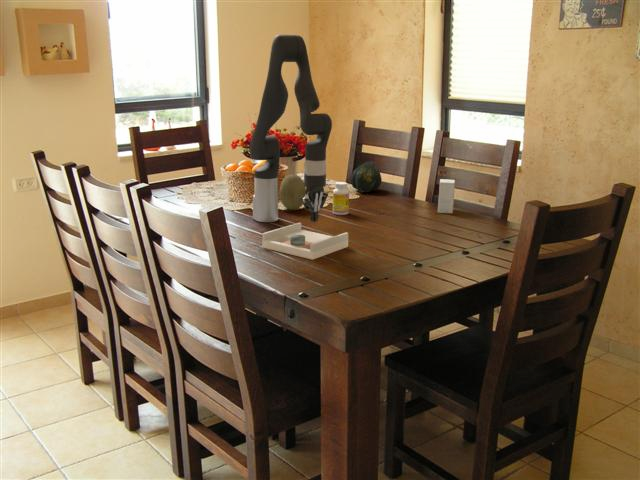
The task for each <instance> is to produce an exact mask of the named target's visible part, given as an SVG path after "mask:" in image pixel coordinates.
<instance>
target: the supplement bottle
mask: <svg viewBox="0 0 640 480" xmlns="http://www.w3.org/2000/svg"><path fill="white" fill-rule="evenodd" d="M347 186H348V183H347V182H344V181H336V182H335V188H334V189H333V191H332V214H333V215H337V216H345V215H348V214H349V213H350V212H349V208H350V205H349V204H350V190H349V189H348V188H347Z"/></svg>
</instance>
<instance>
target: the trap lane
mask: <svg viewBox="0 0 640 480" xmlns="http://www.w3.org/2000/svg"><path fill="white" fill-rule="evenodd" d="M261 235H262V237H261V239H262V243H261V244H262V246H261V247H262V248H264V249H267V250H271V251H276V252H280V253H284V254H288V255H290V256H291V255H292V256H296V257H300V258H305V259H309V260H315V259H318V258H320V257H324V256H326V255H329V254H332V253H334V252H337V251H340V250H343V249H345V248H348V247H349V232H343V233H340V234H337V235H334V236H332V235H328V234H323V233H320V232H313V231H310V230H306V229H302V222H297V223H293V224H290V225H286V226H281V227H280V228H276V229H272V230H269V231H265V232H263V233H262V234H261ZM292 235H304V236H305V245H301V246H295V245H291V244H290V236H292Z"/></svg>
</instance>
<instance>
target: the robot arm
mask: <svg viewBox="0 0 640 480" xmlns="http://www.w3.org/2000/svg"><path fill="white" fill-rule="evenodd" d="M284 63H295V64H296V65H297V68H298V73H297V77H296V79H295V83H294V95H295V98H296V101H297V104H298V107H299V118H300V120H299V123H300V124H299V125H300V129H301V132H303V134H305V135H306V136H316V135H317V136H316V138H315V139H314V140H312V141H308V142H306V144H305V150H304V151H305V152H304V154H305V155H304V156H305V158H304V167H303V168H304V169H303V182H304V185H305V187H306V192H305V194H306V195H305V196H304V198H303V197H302V198H301V201H302V203H303V204H302V206H303V207H304V208H305V210H306V211H309V212H310V213H309V219H310V222H311V223H312V222H313V223H316V222H318V221H319V211H320V209H323V208H324V205H325V203H326V201H327V199H328V197H329V193H328V192H325V187H326V186H327V146H328V142H329V139H330V135H331V131H332V128H333V122H332V118H331V117H330V115H329V114H328V113H321V112H320V113H313V112H316V111H317V110H318V109H319V108H320V104H321V103H320V100H319V97H318V94H317V92H316V88H315V86H314V81H313V77H312V72H311V65H310V61H309V56H308V50H307V45H306V42H305V40H304V38H303V37H302V35H297V34H277V35H275V37H274V38H273V40H272V43H271V49H270V57H269V63H268V69H267V70H268V71H267V77H266V81H265V85H264V89H263V93H262V98H261V102H260V107H259V112H258V116H257V120H256V124H255V126H254V130H253V133H252V135H251V139H250V143H249V156H250V157H251V159H252V160H254V161H265V162H264V163H263V164H262V165H261V166H260V167H258V168H256V169H255V170H254V173H253V174H254V194H253V196H252V219H253V220H255V221H256V222H259V223H272V222H276V221H278V220H279V171H280V158H281V155H280V154H281V145H280V141H279V138H278V137H277V136H276V135H268V134H269V132H270V130H271V128H273V126H274V125H275V124H276V123H277V122H278V121H279V120H280V118H281V117H282V116H283V115H284V113H285V111H286V107H287V104H288V100H289V90H288V88H287V85H286V83H285V81H284V79H283V75H282V68H283V65H284Z"/></svg>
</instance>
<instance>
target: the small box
mask: <svg viewBox="0 0 640 480" xmlns="http://www.w3.org/2000/svg"><path fill="white" fill-rule="evenodd" d="M455 187H456V180H455V179H447V178H446V179H443V178H440V179H439V188H438V189H439V190H438V202H437V203H438V204H437V205H438V206H437V213H439V214H454V213H453V212H454V201H455V189H456V188H455Z"/></svg>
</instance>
